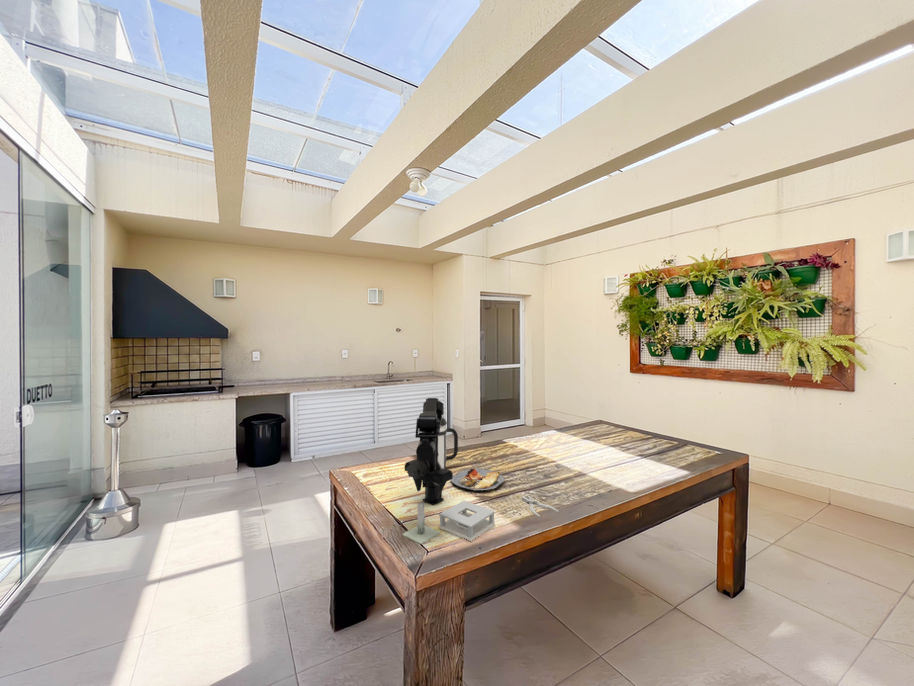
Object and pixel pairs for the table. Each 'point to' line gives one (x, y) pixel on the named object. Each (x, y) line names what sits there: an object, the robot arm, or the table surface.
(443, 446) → the coffee press
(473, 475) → the food plate
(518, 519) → the table surface
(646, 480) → the table surface
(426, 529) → the mat
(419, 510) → the shiny metal cylinder
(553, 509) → the pliers
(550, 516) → the table surface
